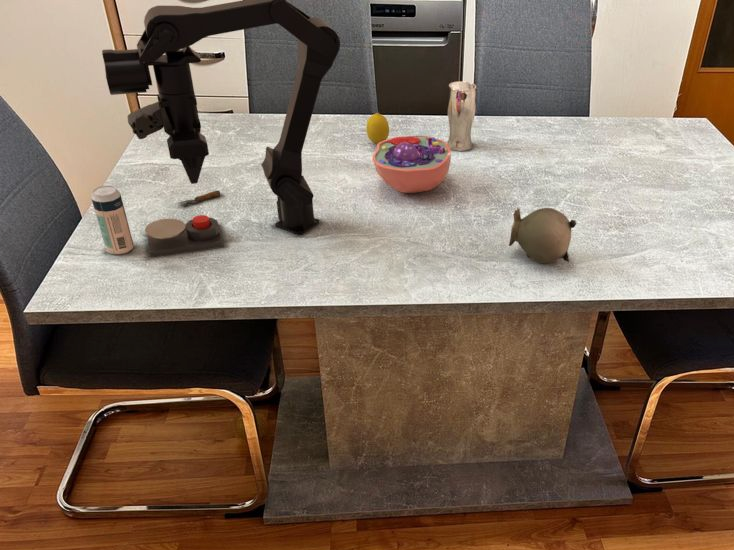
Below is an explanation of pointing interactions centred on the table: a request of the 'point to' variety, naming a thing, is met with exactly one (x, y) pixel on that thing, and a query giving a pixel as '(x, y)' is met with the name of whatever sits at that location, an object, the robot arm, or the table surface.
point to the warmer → (187, 240)
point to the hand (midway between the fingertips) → (192, 175)
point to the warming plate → (165, 228)
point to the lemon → (377, 128)
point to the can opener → (202, 197)
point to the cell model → (412, 162)
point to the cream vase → (461, 114)
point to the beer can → (112, 219)
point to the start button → (201, 222)
